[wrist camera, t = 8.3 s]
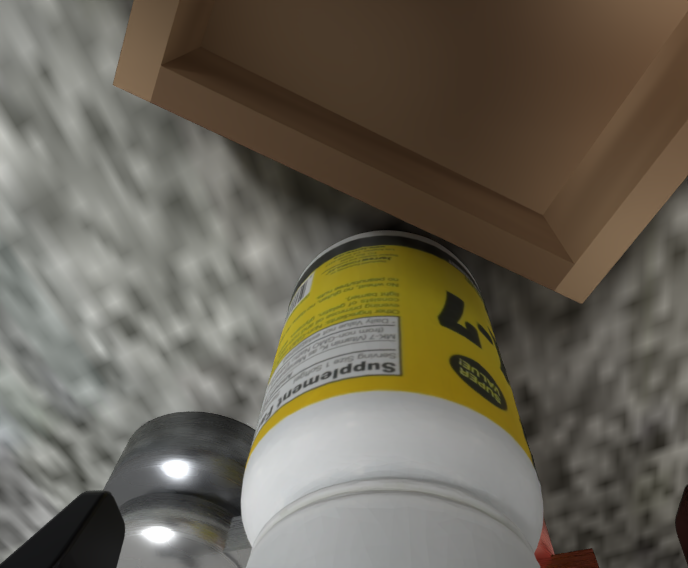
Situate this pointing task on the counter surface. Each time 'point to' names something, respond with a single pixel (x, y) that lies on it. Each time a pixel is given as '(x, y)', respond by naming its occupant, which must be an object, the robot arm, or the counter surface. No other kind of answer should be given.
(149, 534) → the crank
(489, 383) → the supplement bottle
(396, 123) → the tray
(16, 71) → the counter surface
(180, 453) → the block
